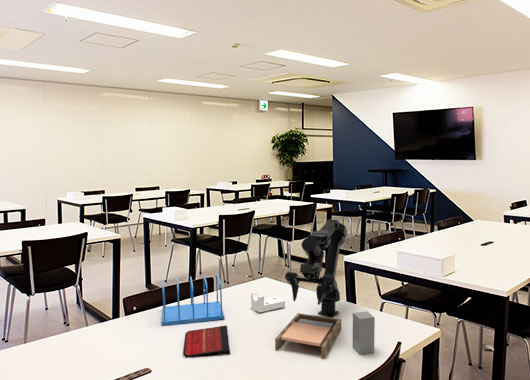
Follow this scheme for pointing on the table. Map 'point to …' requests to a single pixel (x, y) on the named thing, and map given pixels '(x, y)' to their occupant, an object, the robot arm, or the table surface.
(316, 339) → the flap
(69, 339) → the table surface
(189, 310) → the file sorter
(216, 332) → the binder
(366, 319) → the stone block
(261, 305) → the bracket
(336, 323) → the flap frame
